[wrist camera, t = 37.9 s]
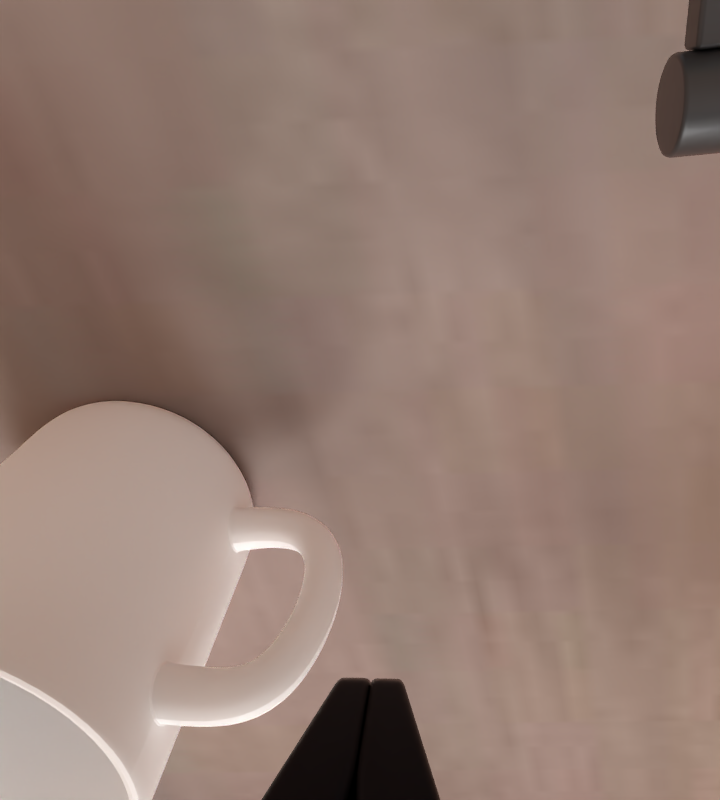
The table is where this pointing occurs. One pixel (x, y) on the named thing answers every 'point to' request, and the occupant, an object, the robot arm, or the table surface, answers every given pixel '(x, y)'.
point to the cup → (134, 600)
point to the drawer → (692, 88)
